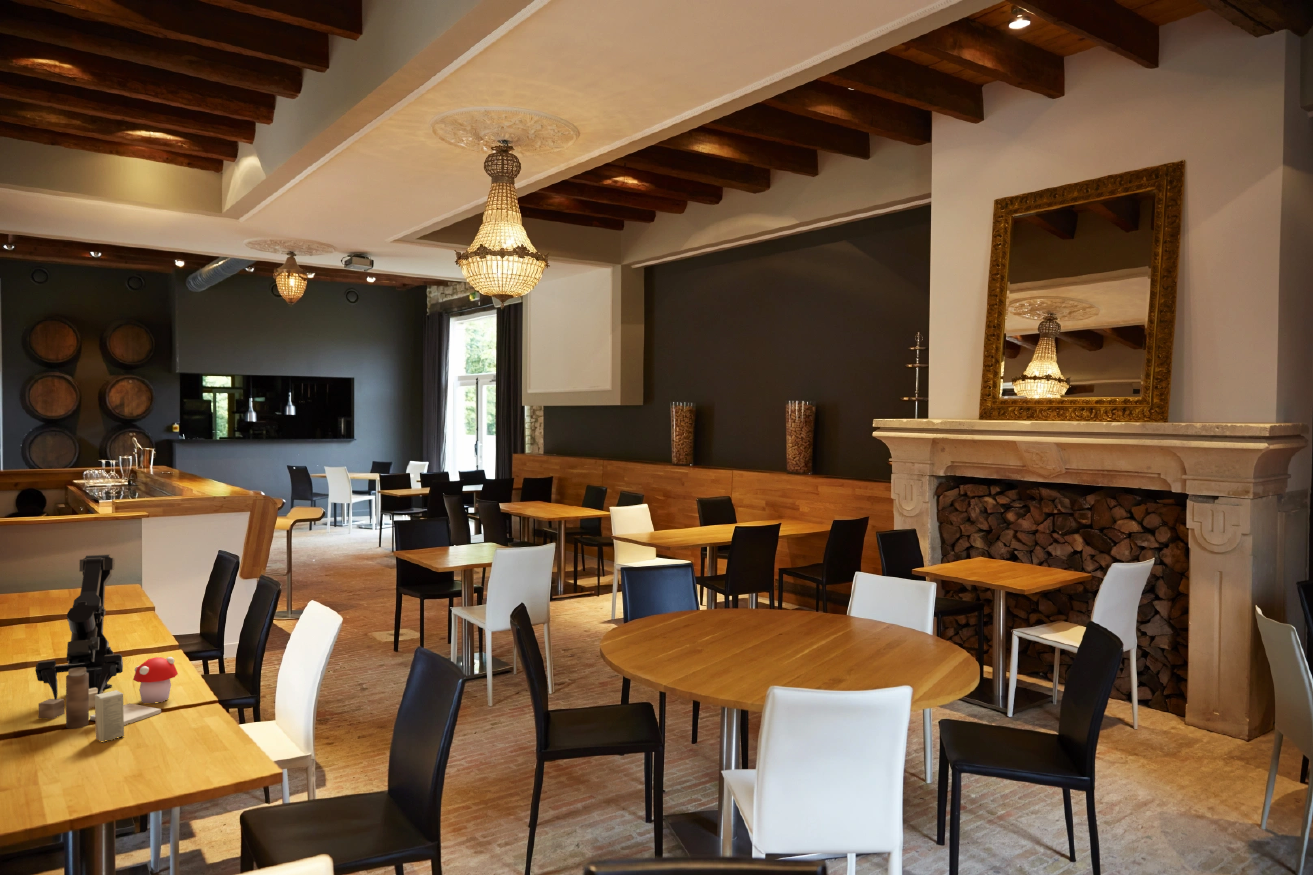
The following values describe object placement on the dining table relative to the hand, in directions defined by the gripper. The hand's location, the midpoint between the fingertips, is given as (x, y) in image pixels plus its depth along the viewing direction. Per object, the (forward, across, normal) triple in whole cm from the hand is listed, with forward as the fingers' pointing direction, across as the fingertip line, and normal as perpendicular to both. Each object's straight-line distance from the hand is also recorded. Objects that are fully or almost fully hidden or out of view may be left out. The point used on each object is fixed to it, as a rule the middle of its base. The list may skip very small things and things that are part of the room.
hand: (77, 696), depth 219 cm
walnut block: (-3, -7, +14) cm, 16 cm away
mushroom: (-5, +16, +16) cm, 24 cm away
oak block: (-7, +1, +18) cm, 19 cm away
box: (+15, +8, -4) cm, 18 cm away
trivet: (+3, +10, +8) cm, 13 cm away
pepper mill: (+5, 0, +6) cm, 8 cm away
